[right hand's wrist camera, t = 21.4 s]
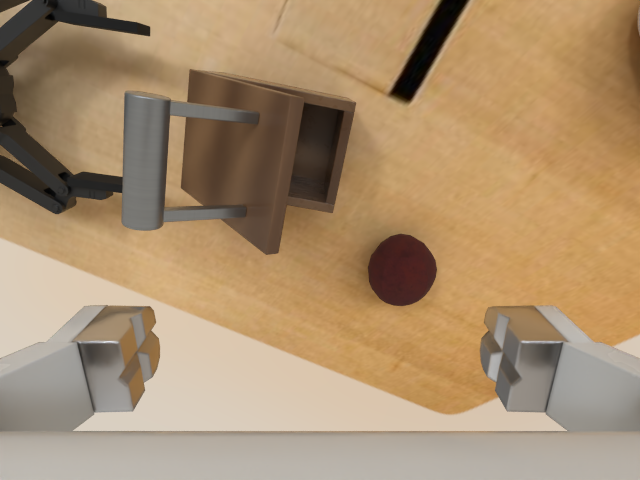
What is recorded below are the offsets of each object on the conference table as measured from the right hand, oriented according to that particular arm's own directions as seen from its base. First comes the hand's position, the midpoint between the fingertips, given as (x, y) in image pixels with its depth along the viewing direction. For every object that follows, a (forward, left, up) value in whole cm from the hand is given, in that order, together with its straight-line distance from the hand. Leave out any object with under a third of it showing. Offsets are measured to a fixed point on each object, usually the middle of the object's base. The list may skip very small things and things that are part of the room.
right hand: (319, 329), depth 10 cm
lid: (+6, -1, -21) cm, 22 cm away
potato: (-9, +14, -36) cm, 39 cm away
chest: (+4, -1, -36) cm, 36 cm away
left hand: (+15, -3, -30) cm, 34 cm away
